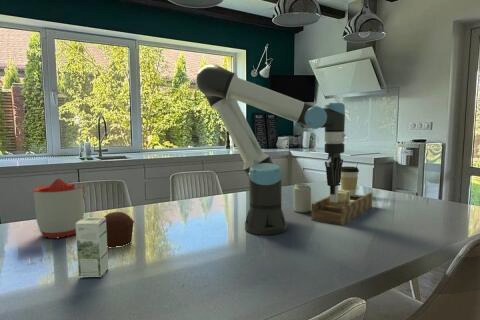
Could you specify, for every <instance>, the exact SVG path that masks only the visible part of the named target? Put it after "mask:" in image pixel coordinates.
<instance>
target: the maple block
mask: <svg viewBox="0 0 480 320" xmlns="http://www.w3.org/2000/svg"><path fill="white" fill-rule="evenodd" d="M348 204H350V191H344V190H342V189H338V202H337V203H335V202H331V203H330V206H333V207H340V208H342V207H344V206H346V205H348Z"/></svg>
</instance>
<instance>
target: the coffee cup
mask: <svg viewBox="0 0 480 320" xmlns="http://www.w3.org/2000/svg"><path fill="white" fill-rule="evenodd" d="M359 172H360V170H359V168H358V167H357V166H342V171H341V181H340V184H341V185H340V186H341V190H347V191H350V196H356V191H357V185H358V178H359V177H358V175H359Z"/></svg>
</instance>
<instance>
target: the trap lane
mask: <svg viewBox="0 0 480 320" xmlns="http://www.w3.org/2000/svg"><path fill="white" fill-rule="evenodd" d="M344 191H347V190H344ZM330 203H331V202H330V195H329V196H327V197H323V198H322V199H320V200H317V201H315V202H312V203H311V221H317V222H322V223H326V224H333V225H338V226H345V225H346V224H348V223H349V222H351V221H352V220H354V219H355V218H357V217H359V216H360V215H362V214H363V213H364V212H366V211H368V210H369V209H371V208H372V207H373V192H371V191H370V192H369V193H366V194H365V195H363V196H359V195H355V196H350V204H348V205H346V206H344V207H342V208H340V207H333V206H330Z"/></svg>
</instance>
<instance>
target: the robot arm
mask: <svg viewBox="0 0 480 320" xmlns="http://www.w3.org/2000/svg"><path fill="white" fill-rule="evenodd" d="M195 80H196V85H197V88H198V90H199V91H200V92H201V93H202V94H203V95H204V97H205V99H206V101H207V102H208V104H209V106H210V108H211V109H214V110H216V111H217V113H218V116H219V117H220V119H221V120H222V123H223V125H224V127H225V128H226V130H227V132H228V134H229V136H230V138H231V140H232V142H233V144H234V145H235V148H236V150H237V151H238V154H239V155H240V157H241V159H242V161H243V167H242V169H243V171H244V173H245V174H246V177H247V179H248V180H249V181H248V182H249V183H248V185H249V187H248V188H249V189H248V190H249V192H248V193H249V197H248V198H249V200H248V201H249V209H248V211H247V215H246V218H245V222H244V230H245V231H246V232H248V233H249V234H254V235H259V236H265V235H266V236H270V235H272V236H273V235H279V234H282V233H285V232H286V231H287V221H286V219H285V214H284V211H283V208H282V178H283V173H282V168H281V166H279V165H278V164H274V162H273V161H272V159H271V157H270V155H269V154H266V153H264V151H263V149H262V147H261V145H260V144H259V142H258V140H257V138H256V136H255V134H254V132H253V130H252V128H251V126H250V124H249V122H248V121H247V119H246V117H245V115H244V112H243V111H242V109H241V107H240V105H239V103H238V102H240V103H243V104H245V105H248V106H252V107H254V108H257V109H259V110H262V111H265V112H267V113H270V114H273V115H276V116H277V117H281V118H284V119H286V120H289V121H292V122H293V125H294V128H296V129H314V130H317V129H321V128H324V142H325V143H324V153H325V154H328V156H327V161H324V166H325V171H326V172H325V173H326V183H327V184H326V185H327V186H328V187H329V196H330V202H335V203H337V202H338V190H339V187H340V186H341V171H342V167H343V163H344V159H342V157H341V154H344V153H345V143H344V142H345V137H346V134H345V133H346V132H345V127H346V126H345V122H346V109H345V104H344V103H342V102H328V103H325V105H324V107H321V106H318V105H312V104H310V103H307V102H304V101H302V100H300V99H296V98H293V97H291V96H288V95H286V94H283V93H280V92H277V91H274V90H272V89H269V88H267V87H263V86H262V85H258V84H256V83H253V82H251V81H248V80H245V79H243V78H240V77H238V74H237V73H235V72H233V71H230V70H228V69H226V68H224V67H222V66H220V65H218V64H215V63H213V64H210V63H209V64H206V65H204V66H203V67H201V68H200V69H199V70H198V73H197V74H196V79H195Z"/></svg>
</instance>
